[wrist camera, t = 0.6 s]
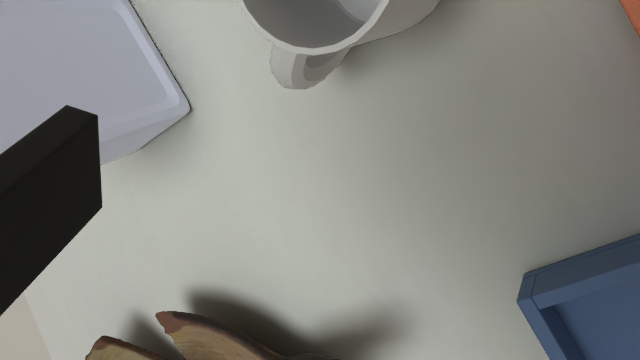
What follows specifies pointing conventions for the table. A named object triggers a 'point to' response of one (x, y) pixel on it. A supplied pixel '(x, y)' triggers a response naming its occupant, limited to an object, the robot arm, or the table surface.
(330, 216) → the table surface
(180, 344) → the pottery shard
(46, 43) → the soap bottle
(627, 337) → the blue tray
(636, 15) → the terracotta tray
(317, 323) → the table surface
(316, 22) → the cup
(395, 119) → the table surface
